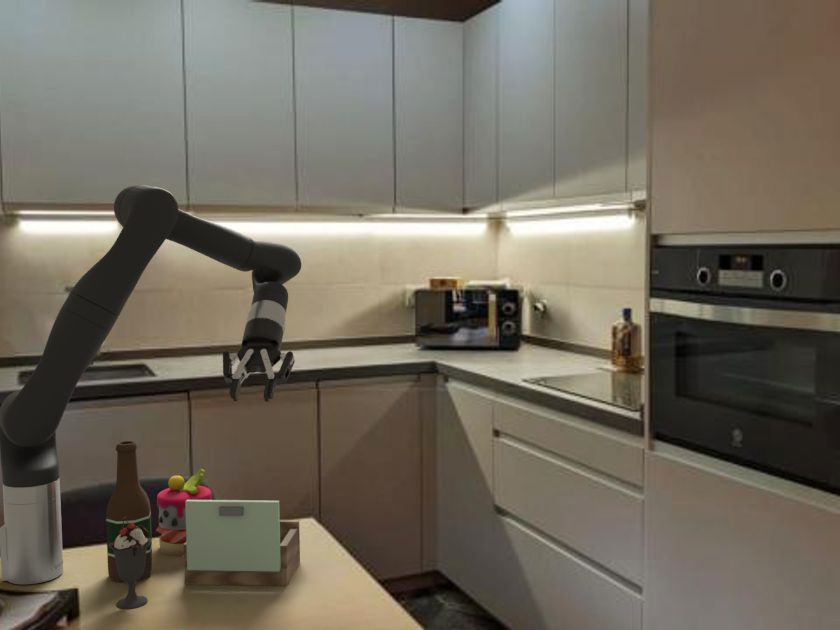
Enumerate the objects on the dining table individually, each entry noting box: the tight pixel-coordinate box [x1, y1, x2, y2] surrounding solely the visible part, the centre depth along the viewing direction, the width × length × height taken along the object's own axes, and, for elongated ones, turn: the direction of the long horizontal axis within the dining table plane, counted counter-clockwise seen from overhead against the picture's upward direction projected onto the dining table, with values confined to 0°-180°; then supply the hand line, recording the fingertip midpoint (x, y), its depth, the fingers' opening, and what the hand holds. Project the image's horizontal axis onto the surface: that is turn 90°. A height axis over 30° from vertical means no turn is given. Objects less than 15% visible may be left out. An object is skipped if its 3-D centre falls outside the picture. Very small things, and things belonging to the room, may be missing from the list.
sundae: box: [109, 517, 151, 610], centre depth 143 cm, size 7×7×15 cm
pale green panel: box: [185, 499, 281, 573], centre depth 149 cm, size 16×2×12 cm, turn 87°
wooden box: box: [183, 519, 301, 587], centre depth 156 cm, size 18×11×8 cm, turn 87°
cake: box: [155, 468, 213, 557], centre depth 170 cm, size 10×11×15 cm
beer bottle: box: [105, 440, 153, 584], centre depth 155 cm, size 8×8×24 cm
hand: (250, 398), depth 162 cm, fingers open, 5 cm apart
